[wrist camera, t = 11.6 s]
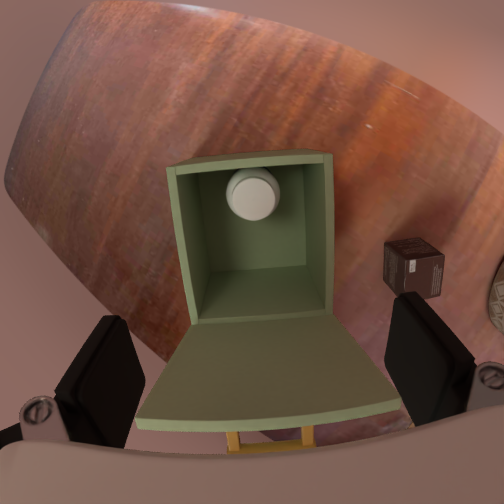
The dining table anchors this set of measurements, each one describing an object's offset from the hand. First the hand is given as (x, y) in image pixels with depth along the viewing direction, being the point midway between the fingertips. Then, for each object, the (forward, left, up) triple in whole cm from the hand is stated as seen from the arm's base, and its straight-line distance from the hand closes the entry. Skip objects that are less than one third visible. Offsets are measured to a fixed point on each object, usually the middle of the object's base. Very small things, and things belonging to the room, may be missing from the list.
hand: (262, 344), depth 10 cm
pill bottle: (-1, +1, -30) cm, 30 cm away
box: (+19, +13, -31) cm, 38 cm away
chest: (+3, -1, -30) cm, 30 cm away
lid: (+7, -4, -10) cm, 13 cm away
